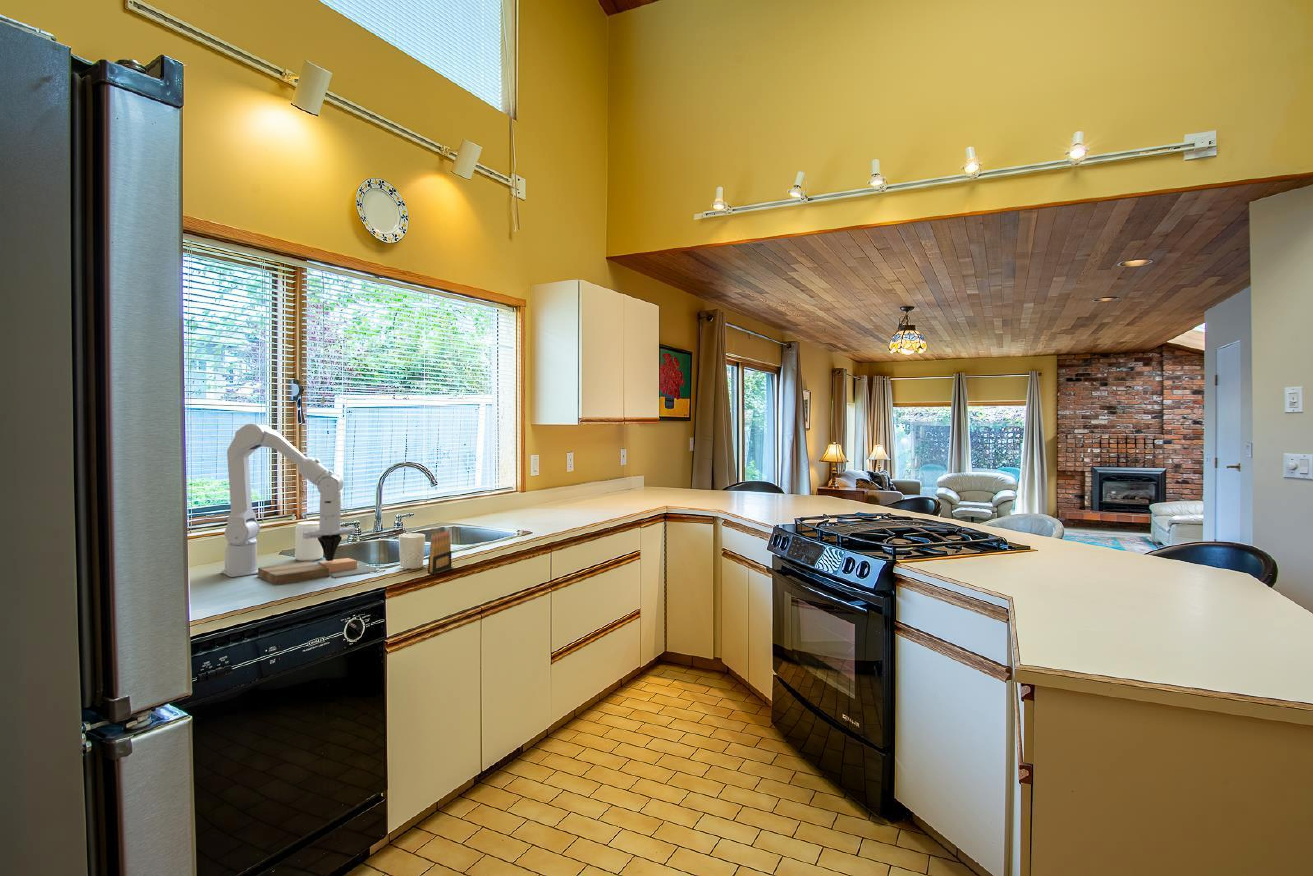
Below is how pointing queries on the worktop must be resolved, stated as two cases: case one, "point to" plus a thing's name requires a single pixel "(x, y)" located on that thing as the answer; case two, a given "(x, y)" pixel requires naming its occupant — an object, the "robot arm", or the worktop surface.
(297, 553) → the beverage can
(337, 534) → the robot arm
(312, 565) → the brown wooden flat slab
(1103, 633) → the worktop surface
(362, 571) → the mat
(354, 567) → the tile
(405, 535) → the white cup
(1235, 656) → the worktop surface
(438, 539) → the ammunition clip
